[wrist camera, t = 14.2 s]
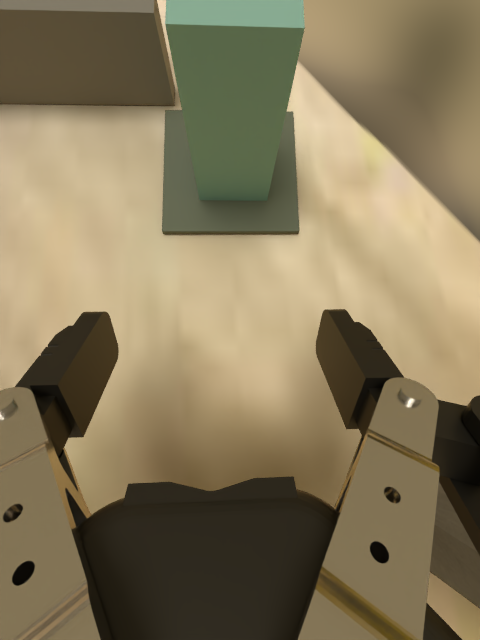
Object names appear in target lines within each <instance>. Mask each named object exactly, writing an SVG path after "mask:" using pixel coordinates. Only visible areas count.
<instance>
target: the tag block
mask: <svg viewBox="0 0 480 640" xmlns="http://www.w3.org/2000/svg"><path fill="white" fill-rule="evenodd" d="M165 24H166V30H167V35H168V40H169V45H170V50H171V55H172V61H173V66H174V71H175V76H176V81H177V86H178V91H179V97H180V102H181V107H182V112H183V117H184V122H185V127H186V133H187V138H188V143H189V148H190V153H191V158H192V164H193V169H194V174H195V179H196V184H197V189H198V194H199V200H232V201H267V198H268V194H269V189H270V185H271V180H272V175H273V171H274V166H275V162H276V157H277V152H278V148H279V143H280V139H281V134H282V129H283V125H284V120H285V116H286V111H287V106H288V102H289V97H290V93H291V88H292V83H293V79H294V74H295V70H296V65H297V60H298V56H299V51H300V47H301V42H302V37H303V33H304V28H305V27H304V6H303V0H166V21H165Z"/></svg>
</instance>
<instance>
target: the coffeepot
mask: <svg viewBox="0 0 480 640" xmlns="http://www.w3.org/2000/svg"><path fill="white" fill-rule="evenodd" d="M430 572H431V573H433V574H434V575H435V576H437V577H438V578H439V579H441V580H442V581H444V582H445V583H446V584H448V585H449V586H450V587H452V588H453V589H454V590H456V591H457V592H458V593H460V594H461V595H462V596H464V597H465V598H466V599H468V600H469V601H471V602H472V603H473V604H475V605H476V606H477V607H479V608H480V556H479V554H478V552H477V550H476V548H475V547H474V545H473V543H472V541H471V539H470V537H469V536H468V534H467V532H466V530H465V528H464V526H463V525H462V523H461V521H460V519H459V517H458V515H457V514H456V512H455V510H454V508H453V506H452V504H451V503H450V501H449V499H448V497H447V495H446V493H445V492H444V490H443V488H442V486H441V484H440V482H439V484H438V494H437V504H436V514H435V523H434V533H433V543H432V553H431V562H430Z"/></svg>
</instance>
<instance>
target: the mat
mask: <svg viewBox="0 0 480 640" xmlns="http://www.w3.org/2000/svg"><path fill="white" fill-rule="evenodd" d="M162 232H163V234H298V233H299V217H298V197H297V177H296V157H295V137H294V118H293V112H286V116H285V120H284V125H283V129H282V134H281V139H280V143H279V148H278V152H277V157H276V162H275V166H274V171H273V175H272V180H271V185H270V189H269V194H268V198H267V201H232V200H199V194H198V189H197V184H196V179H195V174H194V169H193V164H192V158H191V153H190V148H189V143H188V138H187V133H186V127H185V122H184V117H183V112H182V110H165V143H164V180H163V217H162Z"/></svg>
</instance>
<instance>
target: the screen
mask: <svg viewBox="0 0 480 640" xmlns="http://www.w3.org/2000/svg"><path fill="white" fill-rule="evenodd" d="M174 96H175V87H174V82H173V77H172V72H171V67H170V62H169V58H168V53H167V48H166V43H165V38H164V33H163V28H162V23H161V19H160V14H159V9H158V4H157V0H0V104H79V105H161V106H174Z"/></svg>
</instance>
